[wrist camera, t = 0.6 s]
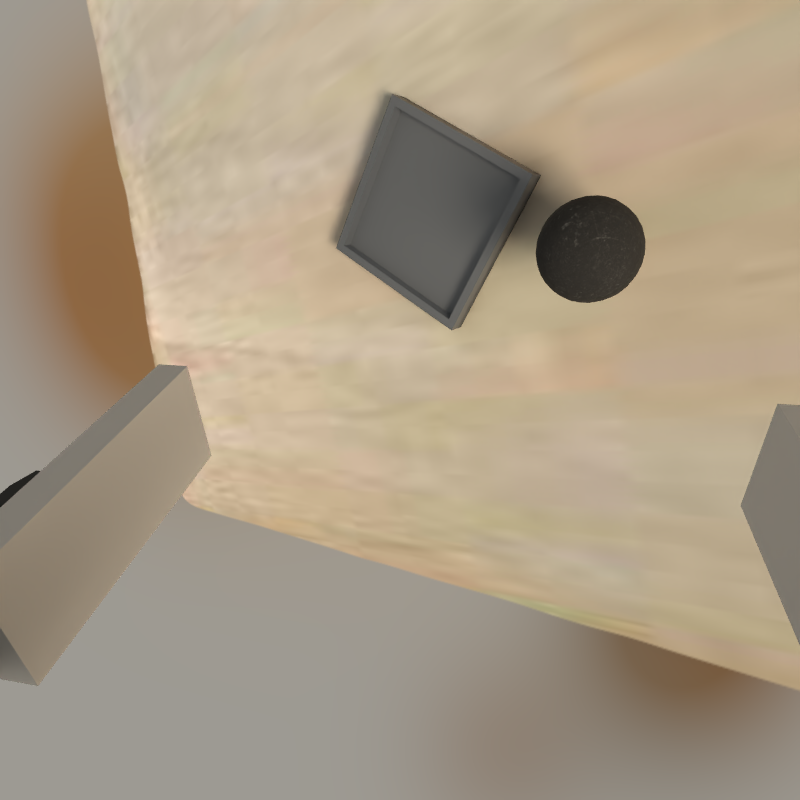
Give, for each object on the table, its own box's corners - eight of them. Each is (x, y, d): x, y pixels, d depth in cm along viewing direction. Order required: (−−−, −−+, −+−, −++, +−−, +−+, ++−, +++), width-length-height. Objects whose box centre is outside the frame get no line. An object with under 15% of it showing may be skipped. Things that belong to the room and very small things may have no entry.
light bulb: (562, 228, 39) (501, 235, 31) (641, 177, 36) (596, 170, 28) (601, 302, 39) (551, 328, 31) (685, 258, 36) (652, 274, 28)
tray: (403, 96, 43) (392, 93, 41) (540, 175, 39) (532, 174, 38) (347, 247, 49) (336, 248, 48) (460, 326, 45) (451, 330, 44)
